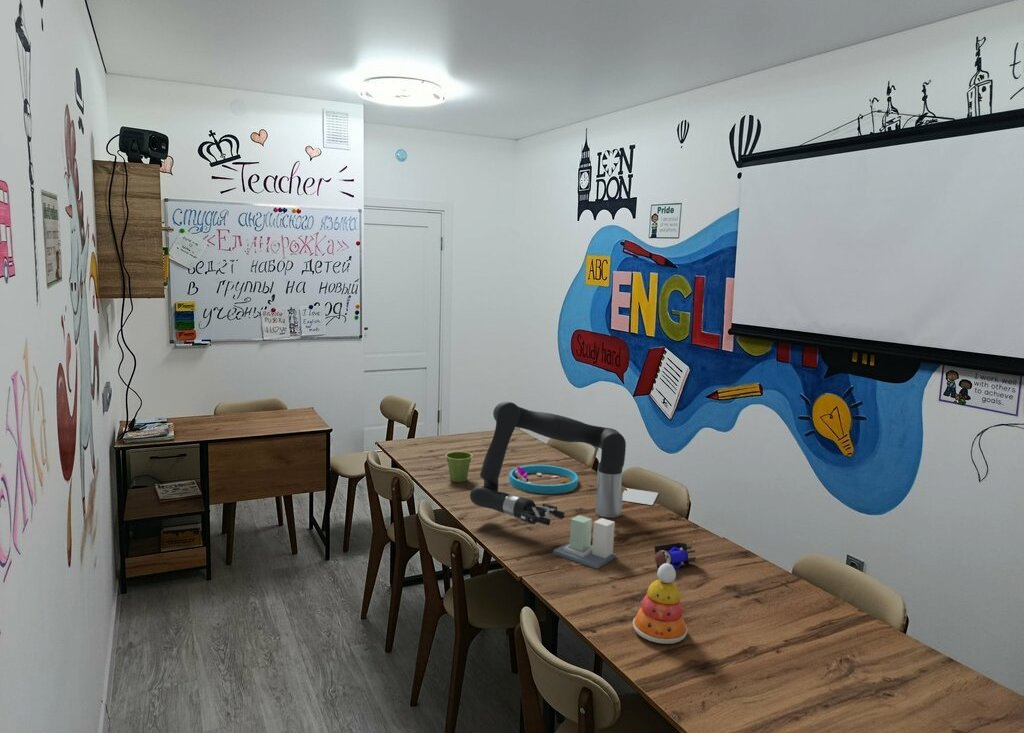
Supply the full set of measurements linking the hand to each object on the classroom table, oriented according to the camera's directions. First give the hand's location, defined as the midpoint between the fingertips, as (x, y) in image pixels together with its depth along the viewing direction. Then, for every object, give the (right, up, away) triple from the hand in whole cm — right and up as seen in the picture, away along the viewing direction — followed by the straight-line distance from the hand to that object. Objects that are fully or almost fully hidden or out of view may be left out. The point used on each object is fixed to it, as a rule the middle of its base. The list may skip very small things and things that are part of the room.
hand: (556, 519), depth 239 cm
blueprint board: (+9, -11, -6) cm, 15 cm away
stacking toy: (+24, -19, -53) cm, 61 cm away
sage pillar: (+7, -9, -5) cm, 13 cm away
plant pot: (-39, +2, +68) cm, 78 cm away
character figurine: (+37, -13, -11) cm, 41 cm away
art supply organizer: (-2, 0, +70) cm, 70 cm away
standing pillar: (+15, -10, -6) cm, 19 cm away
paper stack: (+35, -2, +61) cm, 70 cm away
